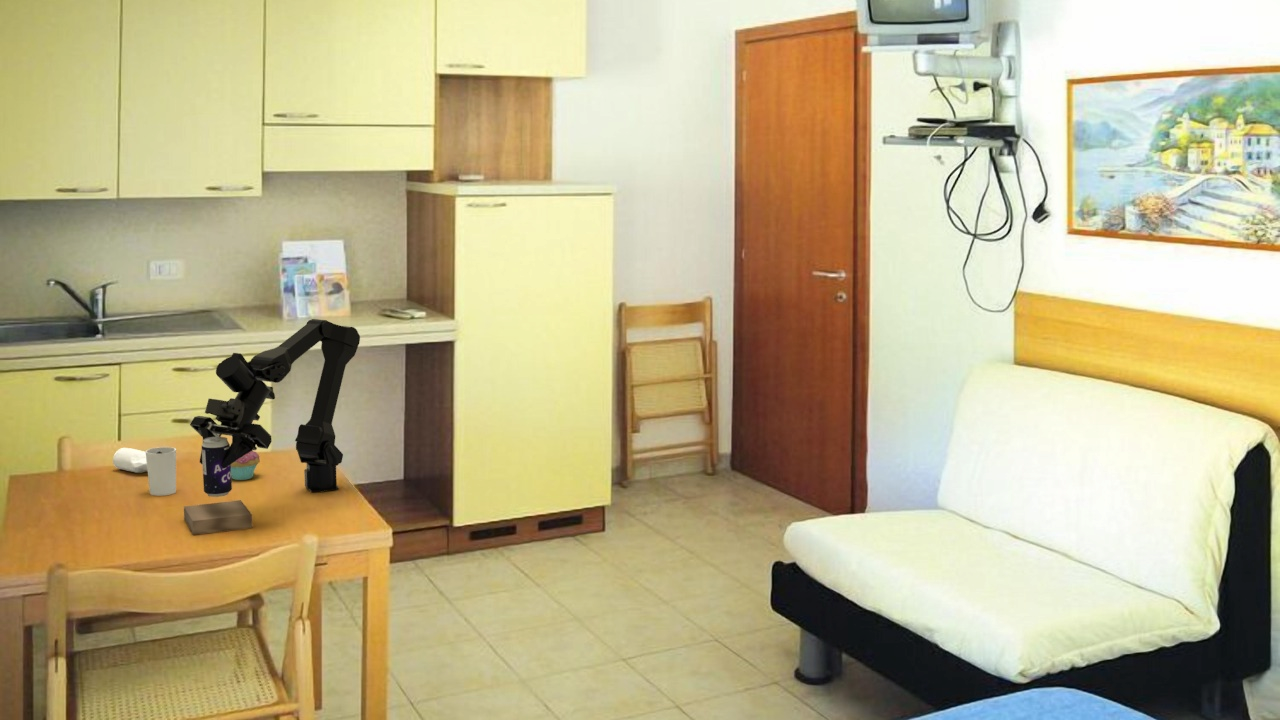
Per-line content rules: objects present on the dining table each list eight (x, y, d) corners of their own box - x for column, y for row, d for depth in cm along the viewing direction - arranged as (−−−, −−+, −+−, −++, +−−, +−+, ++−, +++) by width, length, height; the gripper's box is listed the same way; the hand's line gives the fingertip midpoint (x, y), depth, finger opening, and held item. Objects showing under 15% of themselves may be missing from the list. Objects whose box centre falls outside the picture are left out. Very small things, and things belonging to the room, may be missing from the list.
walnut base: (241, 513, 291) (240, 500, 291) (252, 527, 281) (251, 514, 280) (184, 519, 286) (183, 506, 285) (193, 535, 275) (192, 521, 275)
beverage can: (215, 499, 278) (212, 443, 276) (198, 494, 281) (195, 439, 279) (237, 493, 283) (234, 438, 280) (220, 489, 286) (218, 435, 284)
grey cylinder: (141, 494, 305) (139, 452, 303) (161, 487, 311) (159, 445, 310) (164, 497, 303) (162, 454, 301) (184, 490, 309) (182, 448, 307)
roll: (142, 479, 319) (140, 456, 318) (112, 471, 326) (111, 449, 325) (163, 474, 324) (162, 451, 323) (134, 466, 330) (133, 444, 330)
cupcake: (254, 482, 317) (252, 433, 315) (218, 481, 317) (216, 432, 315) (264, 473, 325) (262, 425, 323) (230, 472, 325) (228, 425, 323)
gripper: (194, 379, 285) (157, 439, 278) (259, 387, 277) (223, 450, 269) (222, 408, 294) (187, 467, 286) (287, 417, 285) (253, 478, 278)
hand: (211, 465), depth 280 cm, fingers closed on beverage can, 6 cm apart
